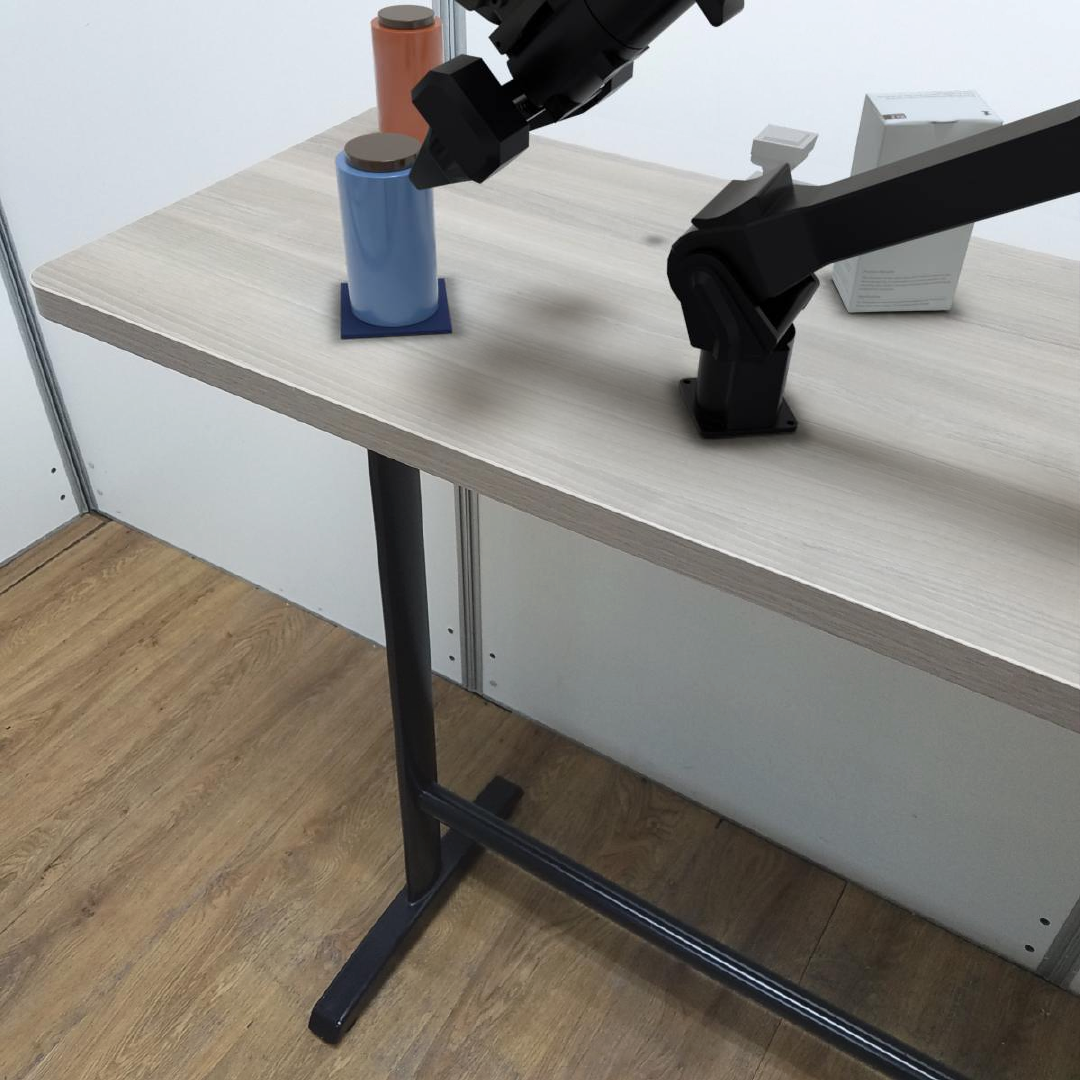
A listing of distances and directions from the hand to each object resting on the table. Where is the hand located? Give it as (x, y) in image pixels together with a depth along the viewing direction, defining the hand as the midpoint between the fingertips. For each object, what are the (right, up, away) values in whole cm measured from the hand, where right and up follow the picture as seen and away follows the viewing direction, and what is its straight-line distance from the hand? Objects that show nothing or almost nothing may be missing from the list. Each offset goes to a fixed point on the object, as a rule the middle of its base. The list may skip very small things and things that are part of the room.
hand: (452, 158), depth 71 cm
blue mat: (-5, -8, +10) cm, 14 cm away
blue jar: (-5, -7, +10) cm, 13 cm away
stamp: (+25, +1, +21) cm, 33 cm away
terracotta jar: (-7, +14, +35) cm, 38 cm away
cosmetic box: (+33, -6, +13) cm, 36 cm away
